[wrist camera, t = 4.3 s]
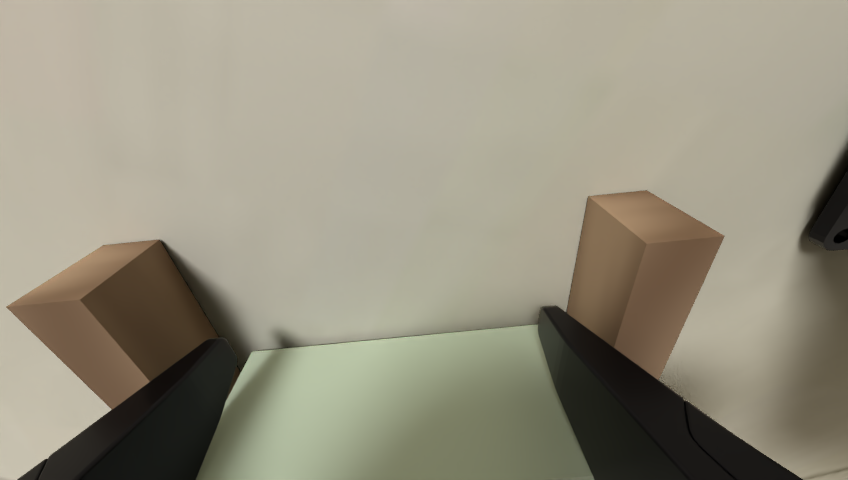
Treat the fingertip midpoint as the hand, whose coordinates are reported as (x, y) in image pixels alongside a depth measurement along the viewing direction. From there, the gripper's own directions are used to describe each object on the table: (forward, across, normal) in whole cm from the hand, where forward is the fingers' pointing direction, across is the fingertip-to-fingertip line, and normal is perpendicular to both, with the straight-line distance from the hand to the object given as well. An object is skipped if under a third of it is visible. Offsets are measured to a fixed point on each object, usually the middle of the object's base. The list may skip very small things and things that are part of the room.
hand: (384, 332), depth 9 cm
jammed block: (+2, 0, +5) cm, 5 cm away
